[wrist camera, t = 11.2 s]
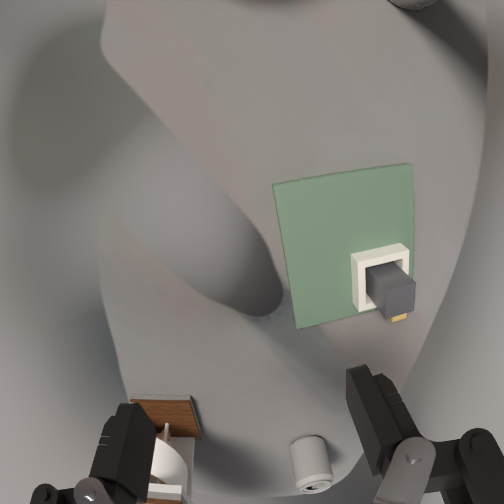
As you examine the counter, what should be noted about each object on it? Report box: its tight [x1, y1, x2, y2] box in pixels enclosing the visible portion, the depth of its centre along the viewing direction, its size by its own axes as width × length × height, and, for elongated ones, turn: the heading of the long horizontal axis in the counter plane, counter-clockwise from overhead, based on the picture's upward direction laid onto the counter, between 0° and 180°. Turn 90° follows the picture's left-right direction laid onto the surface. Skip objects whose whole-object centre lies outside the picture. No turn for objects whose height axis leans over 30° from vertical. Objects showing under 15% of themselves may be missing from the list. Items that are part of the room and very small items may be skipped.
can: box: [290, 436, 334, 494], centre depth 51 cm, size 8×8×12 cm
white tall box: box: [130, 394, 202, 504], centre depth 34 cm, size 11×11×35 cm
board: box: [272, 163, 414, 329], centre depth 38 cm, size 20×18×4 cm
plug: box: [365, 261, 416, 322], centre depth 37 cm, size 5×4×7 cm
